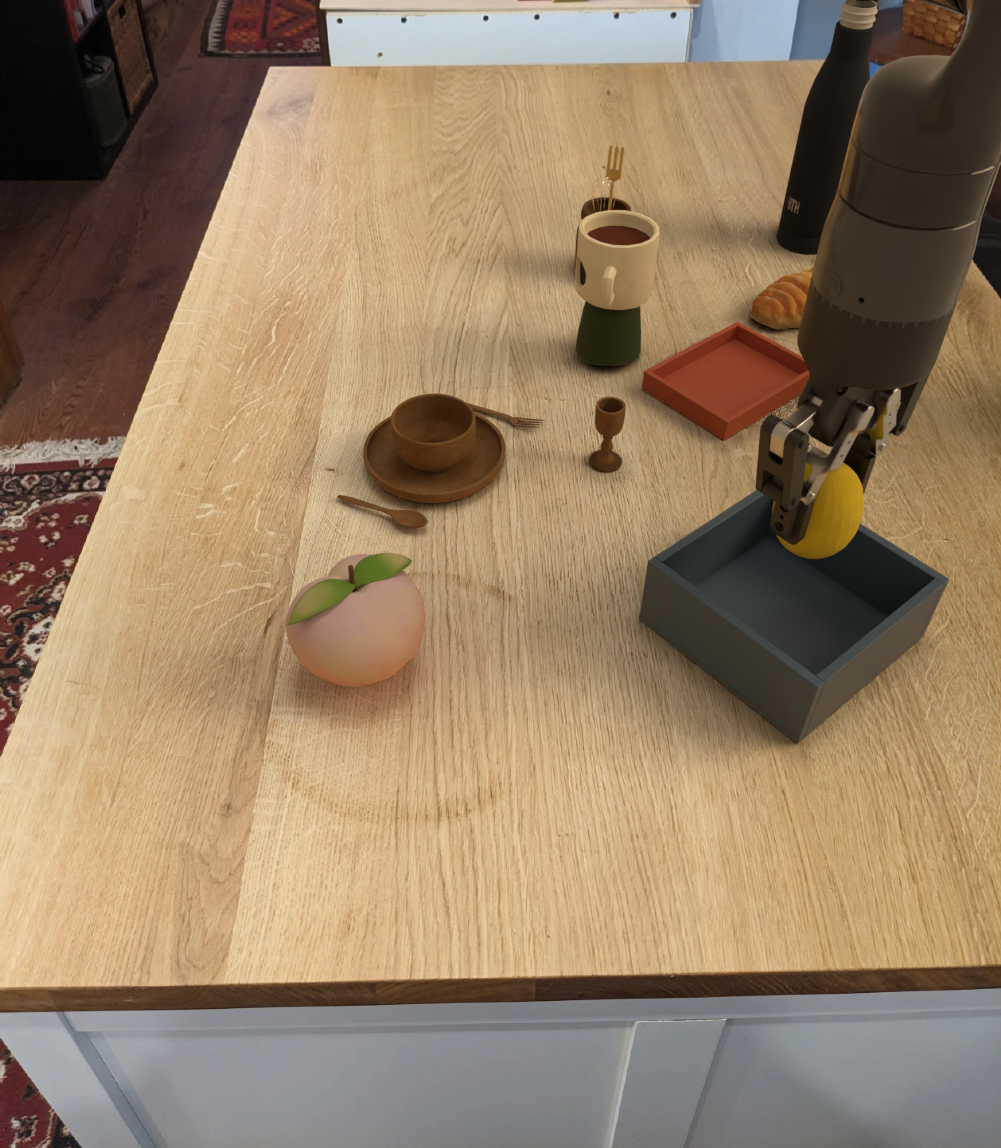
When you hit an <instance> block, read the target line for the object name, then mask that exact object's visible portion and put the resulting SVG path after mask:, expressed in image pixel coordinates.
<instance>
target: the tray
mask: <svg viewBox="0 0 1001 1148" xmlns="http://www.w3.org/2000/svg"><path fill="white" fill-rule="evenodd" d="M808 378H809V371H808V368H807V366H806V363H805V361H804V359H803V357H802V355H801V354H798V353H797V352H795V351H793V350H791V349H789V348H788V347H785V345H784V346H783V345H782V344H780V343H778V342H776V341H775V340H772V339H770V338H768V337H767V336H765V335H763V334H761V333H759V332H758V331H756V330H754V329H752V328H751V327H748V326H747V325H745V324H743V323H740V322H739V321H736V322H734V323H732V324H730V325H728V326H726V327H724V328H723V329H721V330H719V331H716V332H714V333H713V334H711V335H709V336H707V337H706V338H705V337H704V339H701V340H700V341H698V342H696V343H694V344H692V345H690V346H689V347H686V348H685V349H682V350H681V351H679V352H677V353H675V354H673V355H671V356H670V357H668V358H666V359H664V360H662V361H659V362H658V363H656V364H654V365H653V366H651V367H649V368H646V369H645V370H644V371H643V375H642V382H641V383H642V384H641V390H642V391H644V392H646V393H647V394H649V395H651V396H652V397H654V398H655V399H657V400H658V401H660V402H662V403H663V404H665V405H666V406H667V407H670V408H671V409H673V410H675V411H676V412H678V413H679V414H680V415H683V416H684V417H685V418H688V419H689V420H691V421H692V422H694V423H695V424H697V425H699V426H701V427H702V428H703V429H705V430H706V431H709V432H710V433H711V434H713V435H715V436H716V437H718V438H719V439H721V440H722V441H726V440H727V439H729V438H731V437H732V436H734V435H736V434H737V433H739V432H740V431H742V430H744V429H745V428H747V427H749V426H750V425H752V424H754V423H755V422H758V420H760V419H762V418H764V417H765V416H768V414H770V413H772V412H774V411H775V410H777V409H779V408H780V407H782V406H783V405H785V404H787V403H788V402H790V401H791V400H793V399H794V398H797V397H798V396H800V395H801V393H802V391H803V389H804V387H805V385H806V383H807V380H808Z"/></svg>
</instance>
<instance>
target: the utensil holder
mask: <svg viewBox="0 0 1001 1148" xmlns="http://www.w3.org/2000/svg"><path fill="white" fill-rule="evenodd" d="M612 153H613V145H609V148H608V155H607V163H606V171H605V176H604V177H603V176H599V178H597V179H596V181H594V182H593V183H592V187H591V188H592V189H591V193H595V191H596V189H598V188H599V183H600V182H601V181H602V180H603V181H602V185H601V188H603V186H604V181H605V183H606V185H607V186H608V191H609V194H608V195H609V196H607V191H605V195H604V196H602V195H603V190H600V191H601V192H600V197H598V196H596V197H593V198H590V199H588V200H587V201H585V202H584V203H583V204H582V208H581V210H580V211H581V212H580V219H581V220H580V221H579V223H578V226H577V229H576V235H575V248H574V266H575V267H574V268H575V269H576V258H577V245H578V231H579V224H580V222H581V221H582V220H583V219H584V218H585V217H586V216H589V215H591V214H594V213H596V212H602V211H608V210H626V211H631V212H632V207H631V206H630V204H629V203H628V202H626V201H625V200H623V199H619V198H616V197H614V190H615V189H616V187H615V182H617V181H619V180H620V179H621V178H622V171H623V163H624V162H623V161H624V155H625V147H624V146H622V147H621V148H620V154H619V146H615V148H614V155H613V154H612ZM618 154H619V155H620V156H619V163H618V164H617V162H618ZM612 155H613V164H612V169H611V163H612ZM617 165H618V169H617ZM607 180H608V181H609V182H610V185H609V183H608V181H607ZM595 183H596V185H595ZM594 185H595V187H594Z"/></svg>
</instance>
